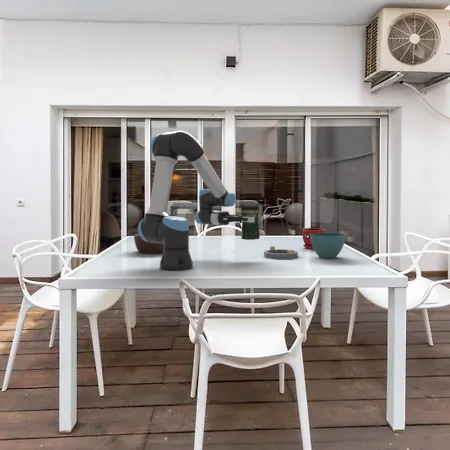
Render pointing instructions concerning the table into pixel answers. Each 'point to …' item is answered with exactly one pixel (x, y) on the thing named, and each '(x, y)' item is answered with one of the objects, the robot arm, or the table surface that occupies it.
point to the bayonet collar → (280, 253)
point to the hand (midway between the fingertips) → (258, 219)
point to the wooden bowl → (147, 246)
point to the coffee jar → (250, 228)
